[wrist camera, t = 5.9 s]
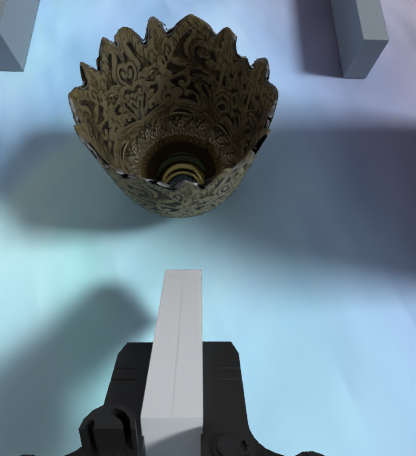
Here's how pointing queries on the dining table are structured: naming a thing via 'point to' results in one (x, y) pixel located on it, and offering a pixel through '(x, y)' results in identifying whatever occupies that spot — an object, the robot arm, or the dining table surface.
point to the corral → (341, 9)
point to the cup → (174, 114)
